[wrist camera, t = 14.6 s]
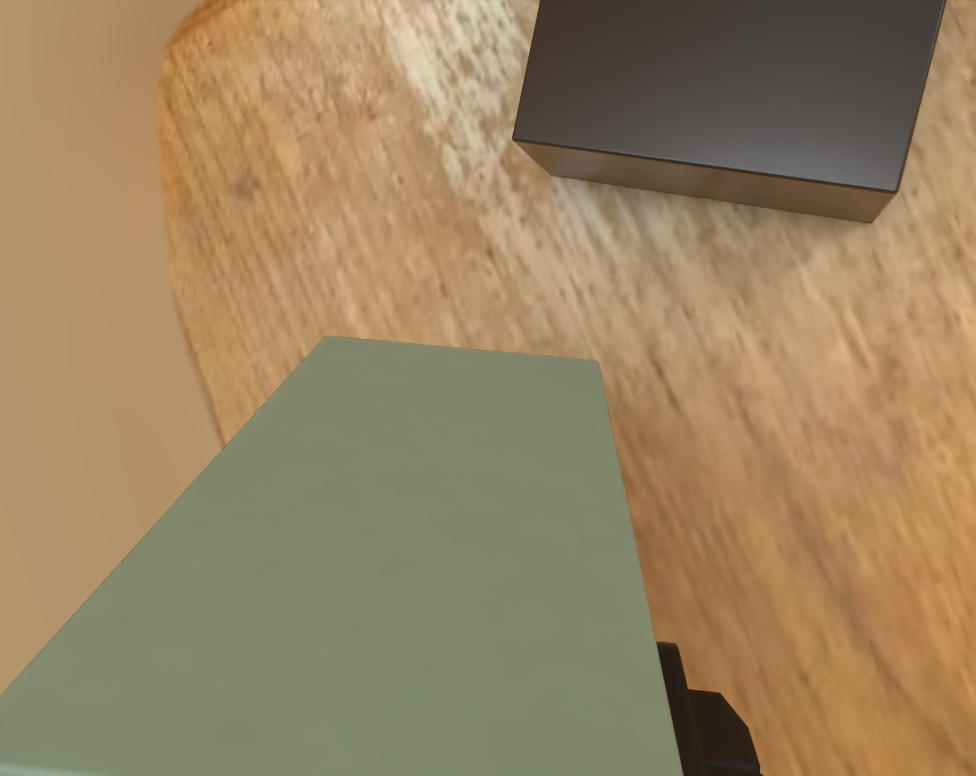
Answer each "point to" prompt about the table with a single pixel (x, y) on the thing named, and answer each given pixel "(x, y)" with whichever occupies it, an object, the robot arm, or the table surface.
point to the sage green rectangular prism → (373, 592)
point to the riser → (731, 97)
